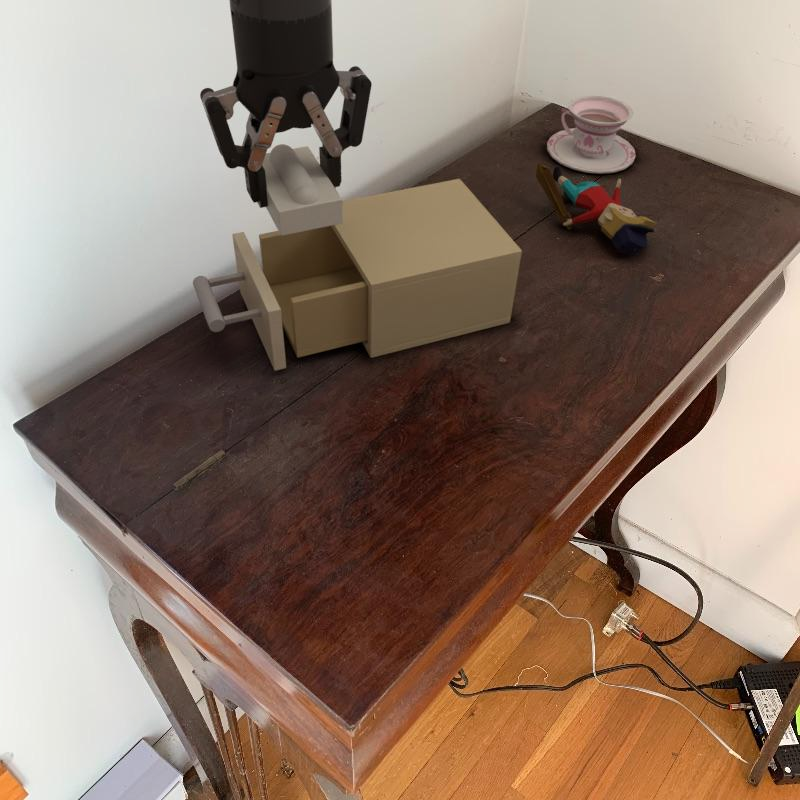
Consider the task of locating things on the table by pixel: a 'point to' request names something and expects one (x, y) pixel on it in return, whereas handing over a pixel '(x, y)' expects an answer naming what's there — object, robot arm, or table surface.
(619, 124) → the teacup
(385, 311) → the cabinet
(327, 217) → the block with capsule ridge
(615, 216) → the toy
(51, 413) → the table surface
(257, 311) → the drawer
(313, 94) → the robot arm
